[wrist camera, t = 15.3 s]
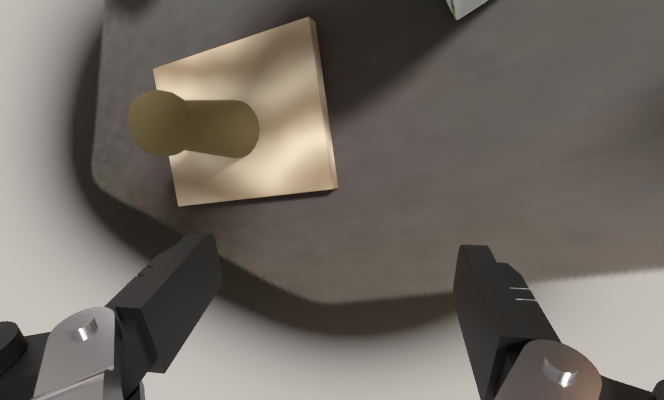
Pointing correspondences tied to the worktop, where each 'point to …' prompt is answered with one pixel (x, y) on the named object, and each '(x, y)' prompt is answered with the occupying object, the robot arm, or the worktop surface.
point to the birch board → (258, 116)
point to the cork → (192, 125)
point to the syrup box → (463, 7)
